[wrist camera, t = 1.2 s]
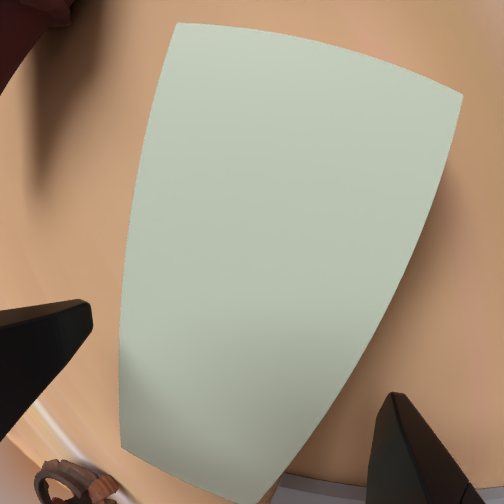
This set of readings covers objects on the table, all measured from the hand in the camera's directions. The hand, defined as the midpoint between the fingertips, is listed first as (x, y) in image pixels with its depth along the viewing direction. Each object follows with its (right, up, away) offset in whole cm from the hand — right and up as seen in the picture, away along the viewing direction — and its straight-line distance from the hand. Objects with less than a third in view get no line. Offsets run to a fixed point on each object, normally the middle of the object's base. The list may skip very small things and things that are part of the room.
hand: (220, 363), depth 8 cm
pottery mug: (-14, -21, +15) cm, 29 cm away
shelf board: (+1, +1, +4) cm, 4 cm away
